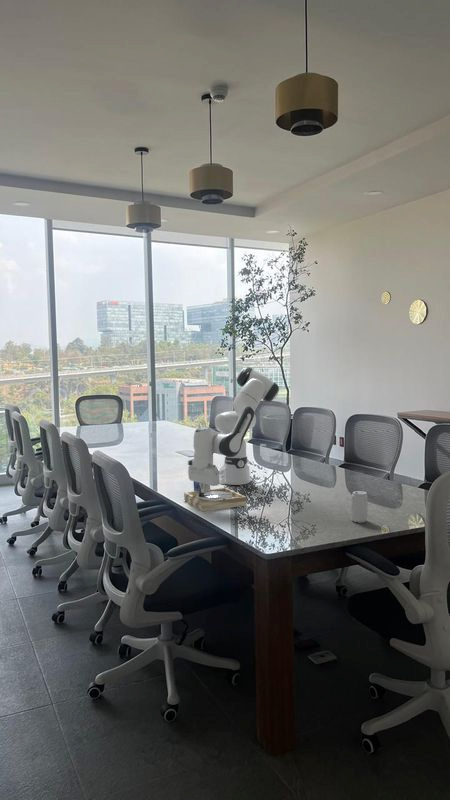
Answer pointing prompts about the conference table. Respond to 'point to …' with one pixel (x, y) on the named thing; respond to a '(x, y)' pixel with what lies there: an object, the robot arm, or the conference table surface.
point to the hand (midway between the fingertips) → (204, 492)
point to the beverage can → (359, 506)
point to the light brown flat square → (215, 504)
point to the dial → (213, 495)
